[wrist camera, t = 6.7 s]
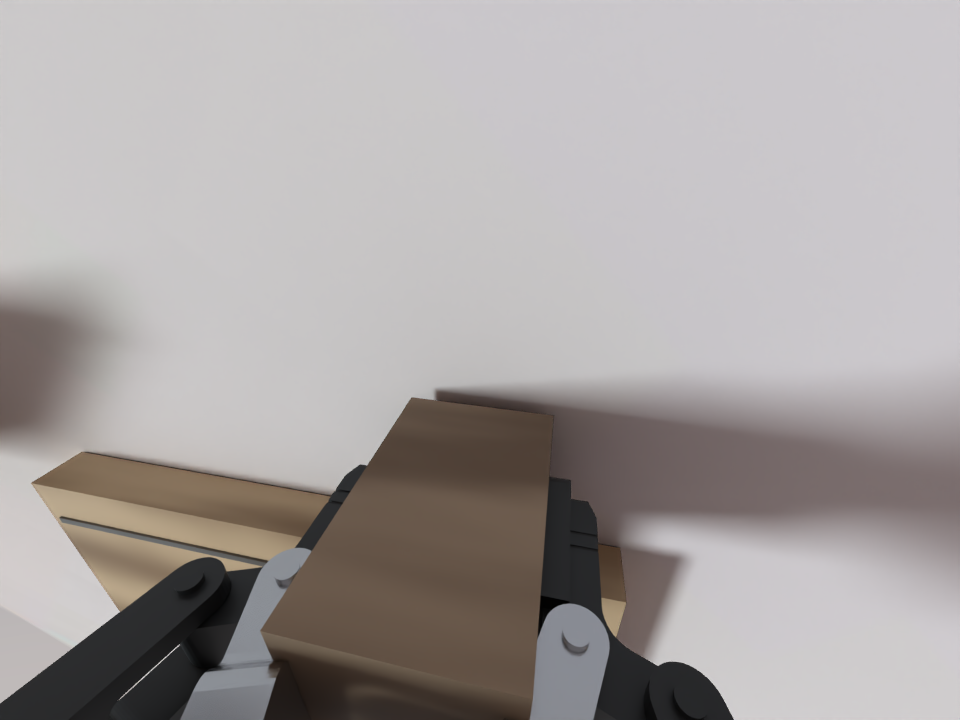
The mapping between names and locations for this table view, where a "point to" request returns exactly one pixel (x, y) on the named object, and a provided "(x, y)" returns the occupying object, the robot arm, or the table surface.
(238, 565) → the board
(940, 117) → the table surface
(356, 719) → the block on a post
